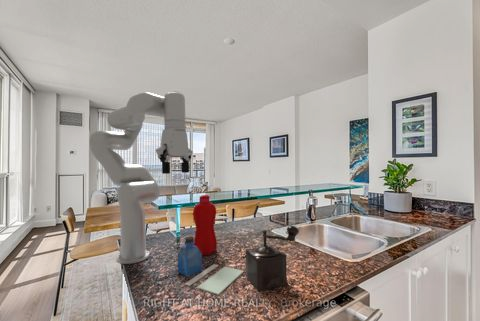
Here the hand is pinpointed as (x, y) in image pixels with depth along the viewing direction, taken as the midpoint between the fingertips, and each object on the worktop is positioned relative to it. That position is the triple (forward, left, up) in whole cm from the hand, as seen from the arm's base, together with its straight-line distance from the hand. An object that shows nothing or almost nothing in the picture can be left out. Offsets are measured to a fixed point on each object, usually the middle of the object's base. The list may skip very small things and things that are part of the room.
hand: (176, 172), depth 83 cm
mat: (+18, +2, -36) cm, 40 cm away
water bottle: (-3, +19, -36) cm, 41 cm away
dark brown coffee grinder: (+33, +10, -36) cm, 50 cm away
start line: (+10, +2, -36) cm, 37 cm away
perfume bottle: (+4, +2, -36) cm, 36 cm away
